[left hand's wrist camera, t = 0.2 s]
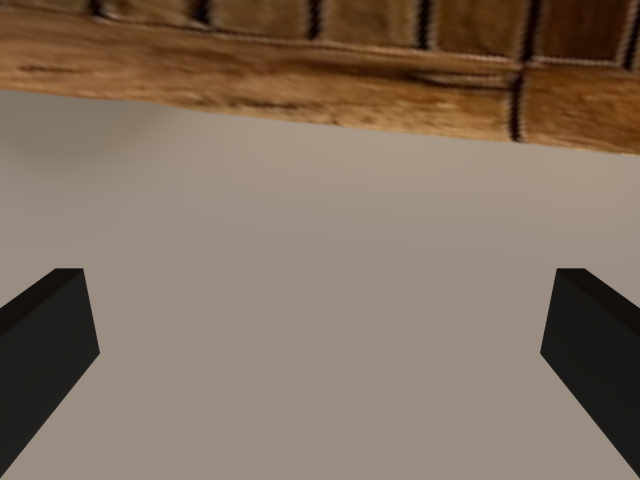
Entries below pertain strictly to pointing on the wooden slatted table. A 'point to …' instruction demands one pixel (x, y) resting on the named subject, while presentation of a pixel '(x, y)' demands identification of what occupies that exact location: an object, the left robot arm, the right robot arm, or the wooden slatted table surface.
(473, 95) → the wooden slatted table surface
